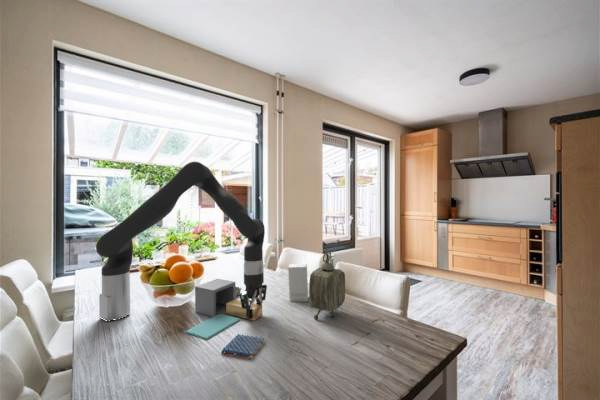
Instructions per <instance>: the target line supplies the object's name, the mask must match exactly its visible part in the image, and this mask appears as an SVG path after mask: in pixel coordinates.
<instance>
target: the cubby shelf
mask: <svg viewBox="0 0 600 400" xmlns="http://www.w3.org/2000/svg"><path fill="white" fill-rule="evenodd" d="M235 287H236V281H232V280H228V279H227V280H226V279H223V278H222V279H221V278H215V279H213V280H209V281H207V282H205V283H201V284H199V285H195V286H194V303H195V304H194V306H195V308H194V310H195V312H196V313H199V314H204V315H206V316H210V317H215V316H217V307H216V306H217V304H222V305H225V306H226V303H228V302H230V301H232V300H235V299H236V298H237V295H236V291H235ZM236 300H237V299H236Z"/></svg>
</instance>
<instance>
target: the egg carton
mask: <svg viewBox="0 0 600 400" xmlns="http://www.w3.org/2000/svg"><path fill="white" fill-rule="evenodd" d="M242 289H243V288H242V287H239V286H235V291H236V296H240V294H241V291H242Z"/></svg>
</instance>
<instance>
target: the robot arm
mask: <svg viewBox="0 0 600 400" xmlns="http://www.w3.org/2000/svg"><path fill="white" fill-rule="evenodd" d="M192 187H197V188H199V189H201V190H202V191H203V192H204V193H206V194H207V195H209V197H210V198H211V199H212V200H213V201H214V203H215V204H216V205H217V207H218V208H219V209H220V211H221V212H222V213H224V214H225V216H226V217H227V218H228V219H229V220H230V221H232V222H233V224H234V226H235V228H236V229H237V230H238V232H239V233H240V234H241V236H243V237H245V238H246V239H247V242H246V245H245V246H244V248H243V249H244V250H243V252H244V253H243V256H244V257H243V259H244V260H243V284H244V286H245V290H244V292H243V293H242V292H240V295H239V300H241V305H242V308H243V309H246V317H247V318H248V319H247V320H250V319H252V306H253V303H254V304H259V305H262V306H263V302H264V301H266V297H267V288H268V285H267V284H264V283H265V281H264V279H265V278H264V271H265V269H264V260H263V259H264V257H263V255H264V253H263V251H264V250H263V245H264V241H265V240H264V239H265V232H266V231H265V229H266V228H265V224H264V223H263V221H262V220H260V219H258V218H253V219H252V217H250V216H249V214H248V210H247V209H246V208H245V206H243V204H242V203H240V201H239V200H237V198H235V197H234V196H233V195H232V194H231V193H229V192H228V190H227V189H225V188H224V187H223V186H222V184H220V182H219V181H218V179H217V178H216V177H215V175H214V174H213V173H212V171H211V170H210V168H209V167H207V166H206V165H205V164H203V163H201V162H200V161H197V160H196V161H195V160H194V161H190V162H188V163H186V164H185V165H184V166H183V167H182V168H181V169H179V171H178V172H177V173H176V174H175V175H174V176H173V177H172V178H171V179H170V180H169V181H168V182H167V183H166V184H164V186H162V187H161V188H160V189H159V190H158V191H156V192H155V193H154V194H153V195H152V196H150V197H149V198H148V199H147V200H145V201H144V202H143V203H142V204H141V205H139V207H137V208H136V209H135V210H133V212H131V213H130V214H129V215H128V216H126V218H125V219H124V220H122V222H120V223H119V224H118V225H116V226H115V227H113V228H112V229H110V230H108V231H107V232H105V233H104V234H103V235H101V236H100V237H99V238H98V240H97V241H96V245H95V248H96V249H95V250H96V252H97V254H98V255H100V256H101V257H103V258H107V261H106V263H105V264H104V265H102V267H101V294H99V297H98V298H99V299H98V301H99V304H98V305H99V307H98V308H99V311H98V312H99V318H100V317H101V318H103V319H105V320H107V321H109V320H113V319H119V318H122V317H125V316H127V315H129V314H131V273H130V272H131V265H132V263H133V252H134V251H133V247H134V246H133V244H134V243H133V239H134V238H135V237H136V236H138V235H139V234H142V233H143V232H145V231H147V230H149V229H151V227H153V226H155V225H157V224H159V223H160V222H161V221H162V220H163V219H164V218H166V217H167V216H168V215H169V214H170V213H171V212H172V211H173V210H174V207H175V206H176V205H177V203H178V200H179V199H180V197H181V196H183V194H184V193H186V191H188V190H189V189H191V188H192ZM249 302H250V306H249ZM129 316H130V315H129ZM127 317H128V316H127ZM125 318H126V317H125ZM122 319H123V318H122ZM119 320H120V319H119Z"/></svg>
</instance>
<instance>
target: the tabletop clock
mask: <svg viewBox="0 0 600 400" xmlns="http://www.w3.org/2000/svg"><path fill="white" fill-rule="evenodd" d="M327 254H329V258H327V257H326V258H325V256H326V255H327ZM331 259H332V253H331V251H330V250H326V251H325V252H324V253H323V256H322V261H323V262H324V263H322V265H321V267H318V268H316V269H315V270H313V271H312V272H311V273H310V277H309V281H308V283H309V284H308V299H309V305H310V308H312V309H316V310H318V311H317V313H316V314H314V317H313V319H314V320H319V314H320V313H321V312H322V311H326V312H331V317H333V318H335V317H336V313H335V312H334V311H335V310H338V309H339V308H340V307H341V306H342V305H343V304H344V302H345V299H346V274H345V272H344V271H343V270H342V269H339V268H335V267H334V265H333V263H331V262H330V261H331Z"/></svg>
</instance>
